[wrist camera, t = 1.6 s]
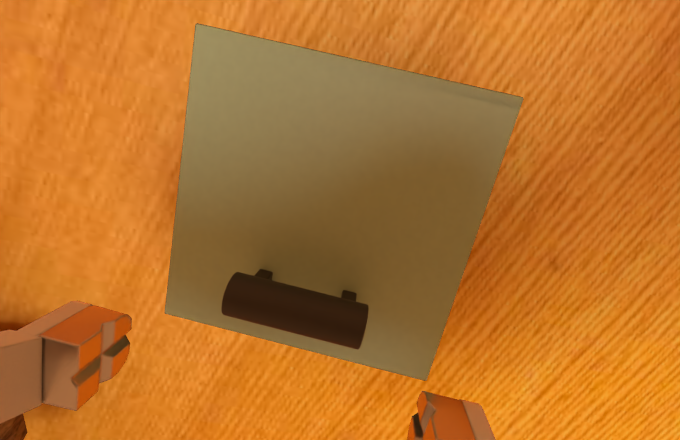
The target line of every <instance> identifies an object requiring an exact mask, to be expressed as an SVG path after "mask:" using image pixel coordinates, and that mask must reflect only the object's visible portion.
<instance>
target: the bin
mask: <svg viewBox="0 0 680 440" xmlns="http://www.w3.org/2000/svg"><path fill="white" fill-rule="evenodd" d="M522 102H523V97H519V96H515V95H511V94H506V93H502V92H497V91H493V90H489V89H484V88H480V87H475V86H471V85H467V84H462V83H458V82H453V81H449V80H445V79H440V78H436V77H431V76H427V75H423V74H418V73H414V72H409V71H405V70H401V69H396V68H392V67H387V66H383V65H378V64H374V63H370V62H365V61H361V60H356V59H352V58H348V57H343V56H339V55H334V54H330V53H326V52H321V51H317V50H312V49H308V48H304V47H299V46H295V45H290V44H286V43H282V42H277V41H273V40H268V39H264V38H260V37H255V36H251V35H246V34H242V33H238V32H233V31H229V30H224V29H220V28H216V27H211V26H207V25H202V24H198V23H197V24H196V26H195V35H194V44H193V54H192V63H191V72H190V82H189V91H188V100H187V110H186V119H185V128H184V138H183V147H182V156H181V166H180V175H179V184H178V194H177V203H176V212H175V222H174V231H173V240H172V250H171V259H170V268H169V278H168V287H167V296H166V305H165V314H169V315H173V316H177V317H181V318H185V319H188V320H192V321H196V322H200V323H204V324H208V325H212V326H216V327H219V328H223V329H227V330H231V331H235V332H239V333H243V334H246V335H250V336H254V337H258V338H262V339H266V340H270V341H273V342H277V343H281V344H285V345H289V346H293V347H297V348H300V349H304V350H308V351H312V352H316V353H320V354H324V355H327V356H331V357H335V358H339V359H343V360H347V361H351V362H355V363H358V364H362V365H366V366H370V367H374V368H378V369H382V370H385V371H389V372H393V373H397V374H401V375H405V376H409V377H412V378H416V379H420V380H424V381H426V380H427V377H428V375H429V372H430V369H431V366H432V363H433V360H434V357H435V354H436V351H437V348H438V346H439V343H440V340H441V337H442V334H443V331H444V328H445V325H446V322H447V319H448V317H449V314H450V311H451V308H452V305H453V302H454V299H455V296H456V293H457V290H458V287H459V285H460V282H461V279H462V276H463V273H464V270H465V267H466V264H467V261H468V258H469V256H470V253H471V250H472V247H473V244H474V241H475V238H476V235H477V232H478V229H479V226H480V224H481V221H482V218H483V215H484V212H485V209H486V206H487V203H488V200H489V197H490V195H491V192H492V189H493V186H494V183H495V180H496V177H497V174H498V171H499V168H500V165H501V163H502V160H503V157H504V154H505V151H506V148H507V145H508V142H509V139H510V136H511V134H512V131H513V128H514V125H515V122H516V119H517V116H518V113H519V110H520V107H521V104H522Z"/></svg>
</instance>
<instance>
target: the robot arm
mask: <svg viewBox="0 0 680 440" xmlns="http://www.w3.org/2000/svg"><path fill="white" fill-rule="evenodd" d="M131 320H132V318H131V317H130V316H129V315H127V314H124V313H120V312H117V311H113V310H109V309H106V308H102V307H99V306H94V305H91V304H87V303H84V302H80V301H71V302H69V303H67V304H65V305H64V306H62V307H60V308H58V309H56V310H54V311H52V312H50V313H49V314H47V315H45V316H43V317H41V318H39V319H37V320H35V321H34V322H32V323H30V324H28V325H26V326H24V327H22V328H20V329H19V330H17V331H15V330H11V329H9V330H5V331H0V424H1V423H3V422H5V421H7V420H9V419H12V418H14V417H16V416H18V415H20V414H23V413H25V412H27V411H29V410H31V409H34V408H36V407H38V406H40V405H41V404H42V403H44V404H49V405H53V406H57V407H62V408H66V409H70V410H74V411H77V410H78V409H79V408H80V407H81V406H82V405H83V404H84V403H85V402H87V401H88V400H89V399H90V398H91V397H92V396H93V395H94V394H95V393H96V392H98V387H99V383H101V382H104V381H107V380H109V379H112V378H113V377H114V376H115V375H116V374H117V373H118V372H119V371H120V369H121V368H122V366H123V365H124V363H125V361H126V360H127V357H128V354H129V349H130V342H129V341H128V339H127V337H126V335H125V334H127V333H128V332H129V331H130V330H131ZM417 407H418V413H417V414H415V415H414V416H412V419H411V422H410V425H409V430H408V437H407V440H496V439H495V437H494V435H493V432H492V430H491V428H490V425H489V423H488V421H487V418H486V416H485V413H484V411H483V409H482V407H481V406H480V405H479V404H478V403H474V402H469V401H465V400H457V399H453V398H449V397H445V396H441V395H437V394H433V393H429V392H426V391H422V392H421V394H420V395H419V398H418V401H417Z"/></svg>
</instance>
